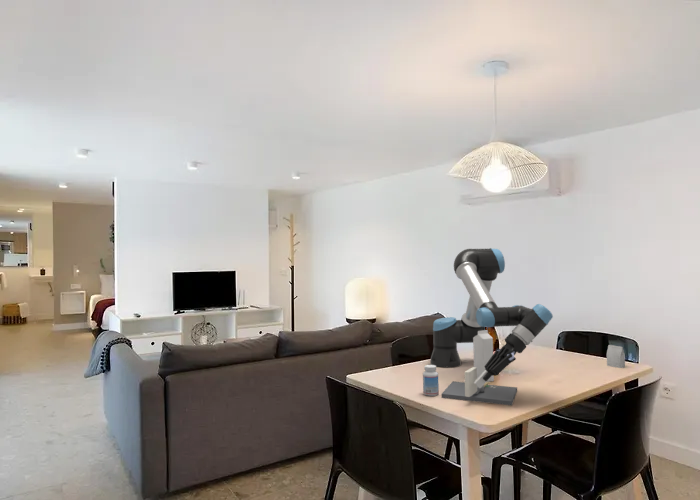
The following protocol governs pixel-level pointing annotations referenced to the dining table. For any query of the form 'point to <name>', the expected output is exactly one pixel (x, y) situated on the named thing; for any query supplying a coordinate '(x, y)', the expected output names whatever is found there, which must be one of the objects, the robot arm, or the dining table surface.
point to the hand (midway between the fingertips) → (476, 385)
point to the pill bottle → (430, 381)
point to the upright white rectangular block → (472, 382)
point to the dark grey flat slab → (482, 393)
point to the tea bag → (615, 356)
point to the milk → (482, 351)
